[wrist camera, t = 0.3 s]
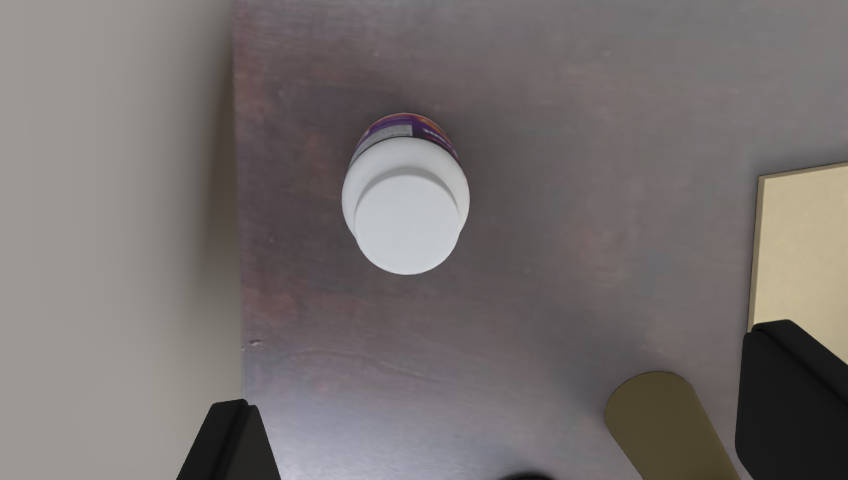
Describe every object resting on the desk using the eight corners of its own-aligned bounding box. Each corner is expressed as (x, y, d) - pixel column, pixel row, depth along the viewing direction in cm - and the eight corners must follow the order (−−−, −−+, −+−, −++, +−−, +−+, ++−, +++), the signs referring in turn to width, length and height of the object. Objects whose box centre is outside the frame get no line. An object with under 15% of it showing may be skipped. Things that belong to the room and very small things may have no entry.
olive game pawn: (587, 405, 36) (658, 558, 26) (669, 354, 35) (777, 496, 25) (633, 460, 38) (716, 623, 28) (712, 415, 37) (829, 568, 27)
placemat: (758, 176, 31) (764, 179, 30) (941, 146, 31) (952, 149, 30) (743, 383, 36) (748, 389, 36) (899, 359, 36) (907, 365, 36)
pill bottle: (471, 185, 31) (500, 259, 22) (382, 225, 31) (374, 313, 22) (430, 92, 29) (443, 130, 20) (335, 137, 29) (307, 194, 20)
